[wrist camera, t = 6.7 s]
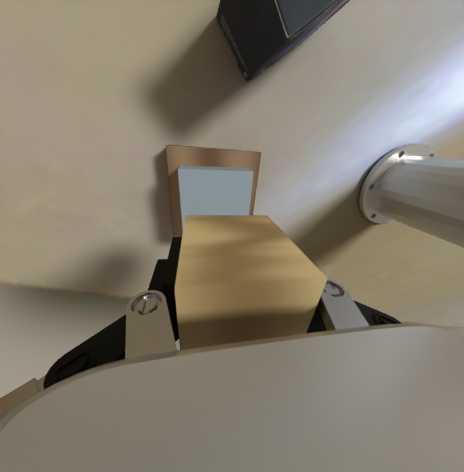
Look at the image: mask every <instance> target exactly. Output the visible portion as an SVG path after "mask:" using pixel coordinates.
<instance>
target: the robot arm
mask: <svg viewBox="0 0 464 472" xmlns="http://www.w3.org/2000/svg"><path fill="white" fill-rule="evenodd" d="M359 204H360V209H361V212H362V214H363V215H364V217H366V218H367V219H368V220H370V221H372V222H374V223H378V224H387V223H392V222H394V221H398V222H401V223H403V224H406V225H408V226H411V227H413V228H416V229H418V230H421V231H423V232H426V233H428V234H431V235H433V236H436V237H438V238H441V239H443V240H446V241H448V242H451V243H453V244H456V245H458V246H461V247H463V248H464V159H459V158H444V157H437V156H436V153H435V152H434V150H433V149H432V148H430V147H429V146H427V145H423V144H408V145H403V146H401V147H398V148H396V149H394V150H392V151H391V152H389V153H388V154H387V155H385V156H384V157H383V158H382V159H381V160H380V161H379V162H378V163H377V164H376V165H375V166H374V167H373V168H372V170H371V171H370V172H369V174H368V176H367V177H366V179H365V181H364V183H363V186H362V189H361V192H360V199H359ZM181 242H182V237H173V239H172V243H171V247H170V251H169V256H168V259H159V260H158V261H157V264H156V267H155V270H154V273H153V276H152V279H151V282H150V285H149V288H148V291H144V292H141V293H139V294H137V295H135V296H134V297H133V298H132V299H131V300H130V301H129V303H128V305H127V308H126V315H124V316H123V317H121V318H120V319H118V320H117V321H115V322H114V323H112V324H111V325H109V326H107V327H106V328H104V329H103V330H102V331H100V332H98V333H97V334H95V335H94V336H92V337H91V338H89V339H87V340H86V341H85V342H83V343H81V344H80V345H78V346H77V347H75V348H74V349H72V350H71V351H69V352H68V353H66V354H65V355H63V356H62V357H61V358H60V359H58V360H57V361H56V362H55V363H54V364H53V366H52V367H51V368H50V369H49V371H48V373H47V374H46V376H44V377H42V378H41V379H39V380H36V379H35V378H34V379H32V380H30V381H29V382H27V383H25V384H24V385H22V386H20V387H19V388H17V389H15V390H13V391H12V392H10V393H9V394H7V395H5V396H3V397H2V398H0V472H464V335H462V334H459V333H457V332H453V331H450V330H447V329H442V328H438V327H434V326H428V325H420V324H402V323H401V322H399V321H398V320H397V319H395V318H394V317H391V316H389V315H387V314H385V313H382V312H380V311H377V310H375V309H373V308H370V307H368V306H366V305H363V304H361V303H359V302H356V301H354V300H353V299H352V298H351V296H350V295H349V293H348V292H347V290H346V289H345V288H344V287H343V286H342V285H341V284H339V283H337V282H335V281H333V280H330V279H327V282H326V284H325V287H324V289H323V292H322V294H321V297H320V299H319V302H318V304H317V307H316V309H315V312H314V314H313V317H312V319H311V322H310V325H309V327H308V330H307V332H306V334H298V335H290V336H282V337H274V338H267V339H259V340H251V341H244V342H236V343H229V344H221V345H214V346H206V347H199V348H191V349H184V350H178V351H177V349H176V344H175V342H176V341H177V340H178V339H179V331H178V321H177V310H176V299H175V282H176V275H177V269H178V262H179V255H180V248H181Z"/></svg>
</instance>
